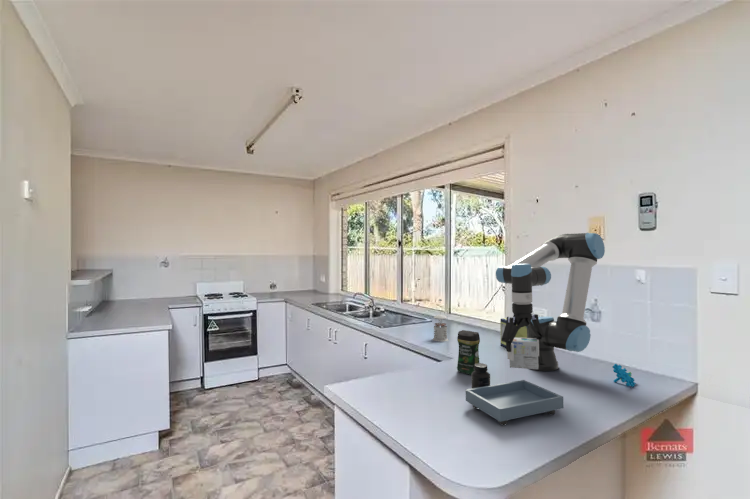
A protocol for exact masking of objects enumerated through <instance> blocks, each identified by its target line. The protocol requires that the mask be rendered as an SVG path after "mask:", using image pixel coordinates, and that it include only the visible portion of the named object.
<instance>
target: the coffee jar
mask: <svg viewBox="0 0 750 499" xmlns="http://www.w3.org/2000/svg"><path fill="white" fill-rule="evenodd" d="M456 339H457V344H458V357H457V367H456V369H457V371H458V372H459V373H461V374H465V375H471V374H472V372H473V371H475V370H474V364H476V363H480V355H479V352H480V351H479V345H480V342H481V339H480V333H479V332H478V331H471V330H464V329H463V330H459V331H458V332H457V337H456Z"/></svg>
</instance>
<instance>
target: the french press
mask: <svg viewBox="0 0 750 499" xmlns="http://www.w3.org/2000/svg"><path fill="white" fill-rule="evenodd" d="M442 301H443V300H442V298H441V299H440V298H439V299H438V302H442ZM433 319H436V320H438V322H435V323H434V326H433V338H432V341H434V342H440V343H441V342H442V343H443V342H449V339H448V328H447V327H448V326H447V323H445V322H443V320H447V319H448V317H447V316H446V315H444V314H441V313H439V314H436V315H434V316H433Z"/></svg>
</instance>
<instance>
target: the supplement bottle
mask: <svg viewBox="0 0 750 499" xmlns="http://www.w3.org/2000/svg"><path fill="white" fill-rule="evenodd" d="M474 370H475V371H473V372H472V374H471V376H470V378H471V389H473V388H479V387H485V386H491V374H490V373H489V372H488V370H489V369H488V365H487V364H486V363H483V362H482V363H481V362H479V363H476V364H474Z"/></svg>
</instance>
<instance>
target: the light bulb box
mask: <svg viewBox="0 0 750 499" xmlns="http://www.w3.org/2000/svg"><path fill="white" fill-rule="evenodd" d="M509 340H510V339H509ZM512 343H513V344H514V361H512V360H509V368H511V369H512V368H513V369H525V370H534V369H538V344H537V339H536V338H514V339H513V341H512Z"/></svg>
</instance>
